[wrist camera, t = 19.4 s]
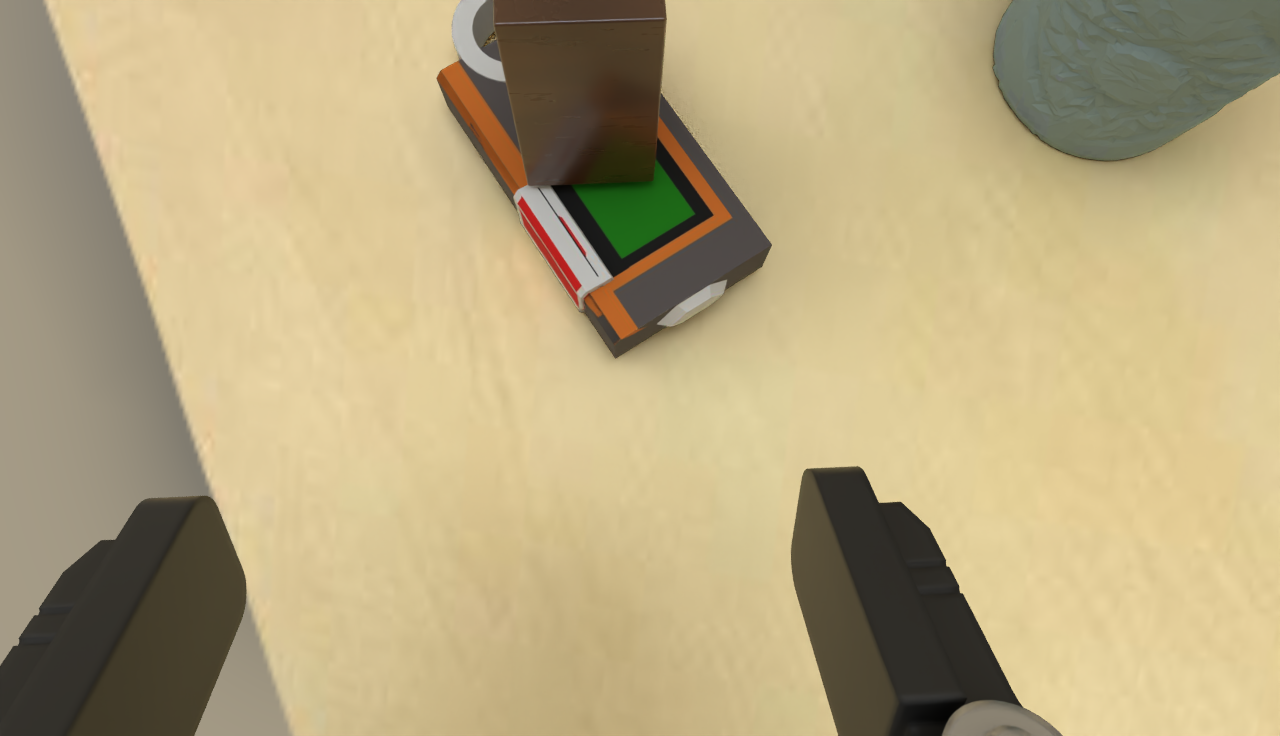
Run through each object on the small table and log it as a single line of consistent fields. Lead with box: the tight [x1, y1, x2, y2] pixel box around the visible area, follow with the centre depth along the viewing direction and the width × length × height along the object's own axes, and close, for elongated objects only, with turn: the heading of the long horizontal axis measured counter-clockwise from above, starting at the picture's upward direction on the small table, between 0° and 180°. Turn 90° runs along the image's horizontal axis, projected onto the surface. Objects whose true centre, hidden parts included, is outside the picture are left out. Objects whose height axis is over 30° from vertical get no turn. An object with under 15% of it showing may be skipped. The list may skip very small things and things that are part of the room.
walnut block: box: [493, 0, 667, 186], centre depth 25 cm, size 4×4×8 cm
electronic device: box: [437, 0, 772, 359], centre depth 30 cm, size 7×3×15 cm
